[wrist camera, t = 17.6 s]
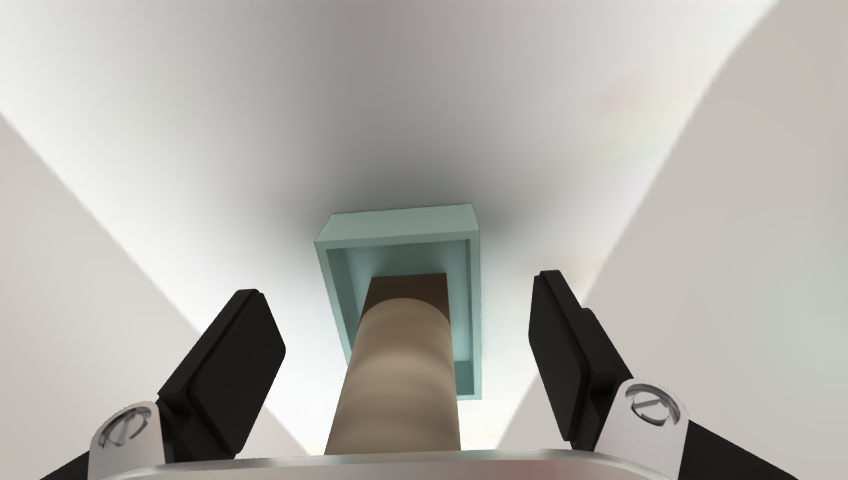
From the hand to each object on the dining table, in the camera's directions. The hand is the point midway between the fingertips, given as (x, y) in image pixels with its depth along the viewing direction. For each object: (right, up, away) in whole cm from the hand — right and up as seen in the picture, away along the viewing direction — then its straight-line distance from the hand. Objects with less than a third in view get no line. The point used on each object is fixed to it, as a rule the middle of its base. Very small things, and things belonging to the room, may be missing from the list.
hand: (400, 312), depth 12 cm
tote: (0, -1, +7) cm, 7 cm away
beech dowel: (0, -2, +3) cm, 3 cm away
